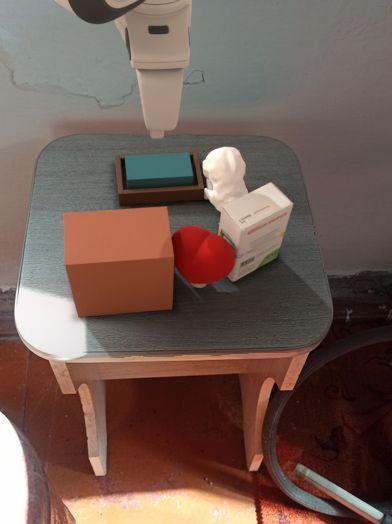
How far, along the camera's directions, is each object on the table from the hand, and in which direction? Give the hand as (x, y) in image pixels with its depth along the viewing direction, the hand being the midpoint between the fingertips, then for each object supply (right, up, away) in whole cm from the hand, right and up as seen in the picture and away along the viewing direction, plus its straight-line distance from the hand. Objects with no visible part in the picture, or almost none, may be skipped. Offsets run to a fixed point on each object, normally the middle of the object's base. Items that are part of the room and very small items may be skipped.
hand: (152, 110), depth 76 cm
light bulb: (+6, -23, +5) cm, 24 cm away
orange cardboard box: (-4, -24, +4) cm, 24 cm away
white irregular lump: (+11, -11, +12) cm, 19 cm away
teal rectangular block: (0, -6, +13) cm, 14 cm away
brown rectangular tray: (0, -6, +13) cm, 14 cm away
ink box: (+13, -19, +7) cm, 24 cm away
